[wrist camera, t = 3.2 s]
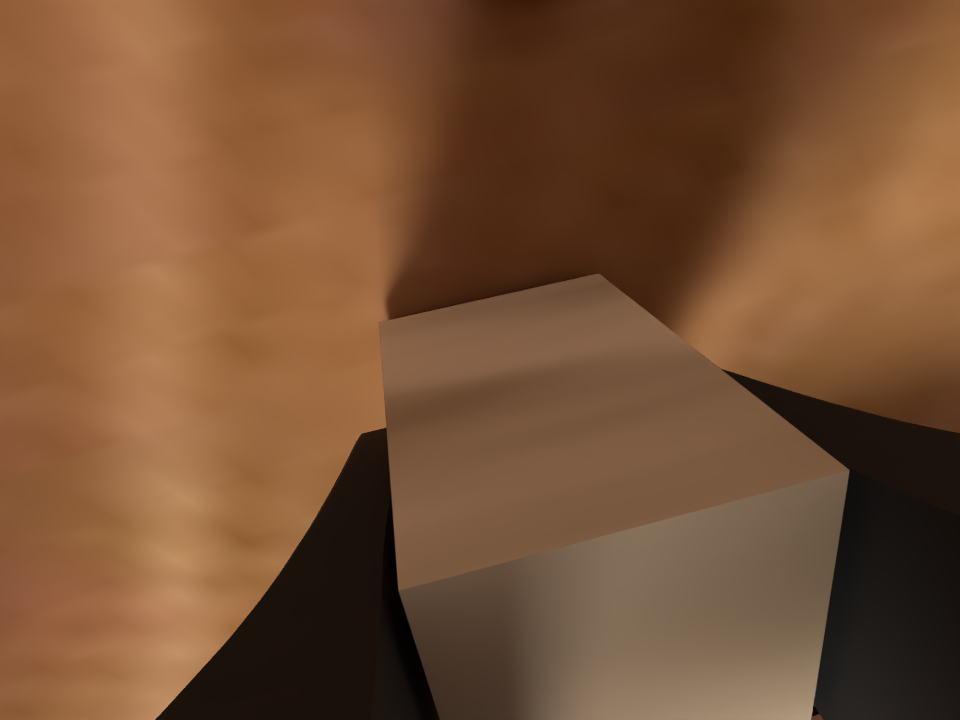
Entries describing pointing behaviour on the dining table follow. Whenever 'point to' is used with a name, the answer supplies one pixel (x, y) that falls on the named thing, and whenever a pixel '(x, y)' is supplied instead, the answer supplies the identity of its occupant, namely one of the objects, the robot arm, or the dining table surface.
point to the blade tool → (600, 517)
